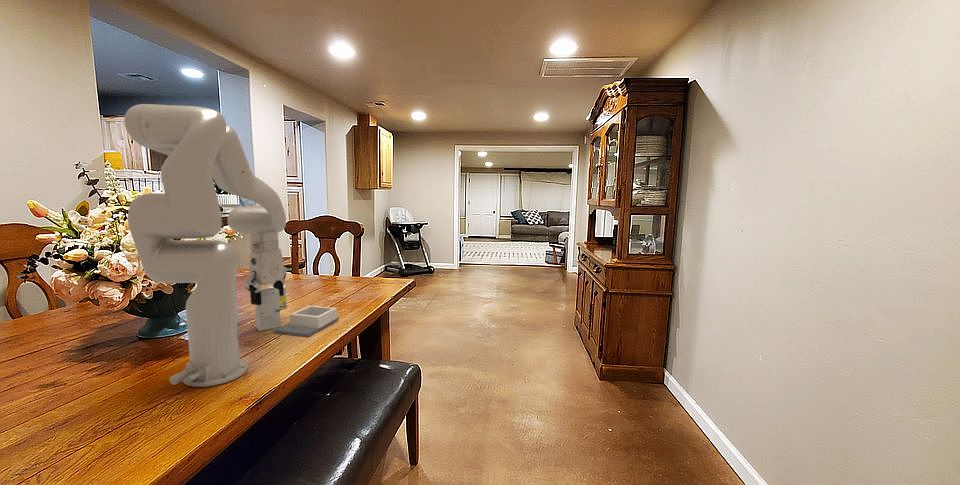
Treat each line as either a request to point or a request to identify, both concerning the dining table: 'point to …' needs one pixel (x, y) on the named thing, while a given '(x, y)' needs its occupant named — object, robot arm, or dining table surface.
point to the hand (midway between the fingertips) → (268, 299)
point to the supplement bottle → (281, 297)
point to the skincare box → (268, 310)
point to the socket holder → (308, 321)
